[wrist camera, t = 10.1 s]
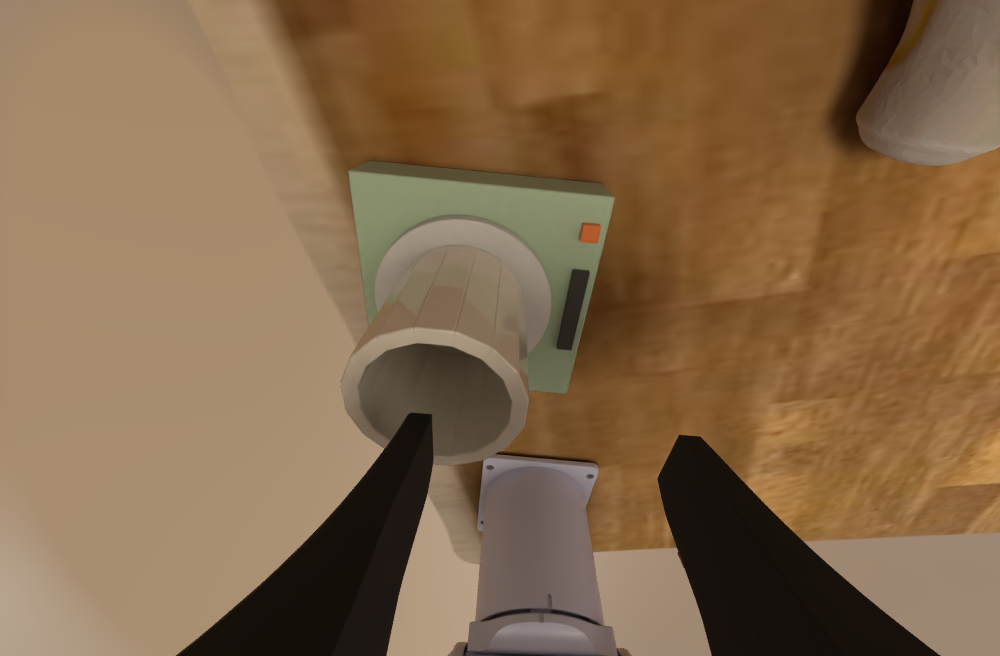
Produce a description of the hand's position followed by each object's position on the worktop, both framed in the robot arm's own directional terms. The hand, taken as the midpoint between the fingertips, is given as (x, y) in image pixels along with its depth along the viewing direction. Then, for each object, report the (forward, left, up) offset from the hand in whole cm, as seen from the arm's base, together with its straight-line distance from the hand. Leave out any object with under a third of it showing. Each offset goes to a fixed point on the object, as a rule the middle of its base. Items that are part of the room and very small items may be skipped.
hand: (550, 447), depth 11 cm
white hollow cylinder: (+1, +4, -6) cm, 7 cm away
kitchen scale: (+1, +3, -9) cm, 10 cm away
